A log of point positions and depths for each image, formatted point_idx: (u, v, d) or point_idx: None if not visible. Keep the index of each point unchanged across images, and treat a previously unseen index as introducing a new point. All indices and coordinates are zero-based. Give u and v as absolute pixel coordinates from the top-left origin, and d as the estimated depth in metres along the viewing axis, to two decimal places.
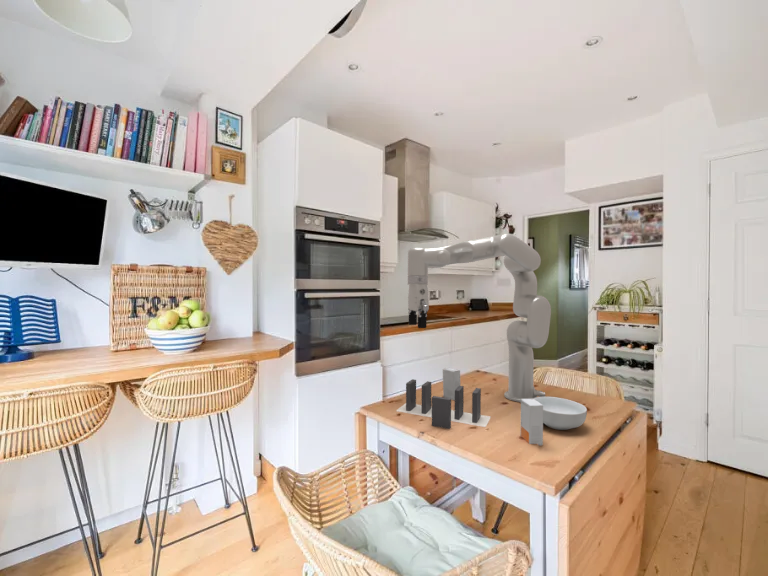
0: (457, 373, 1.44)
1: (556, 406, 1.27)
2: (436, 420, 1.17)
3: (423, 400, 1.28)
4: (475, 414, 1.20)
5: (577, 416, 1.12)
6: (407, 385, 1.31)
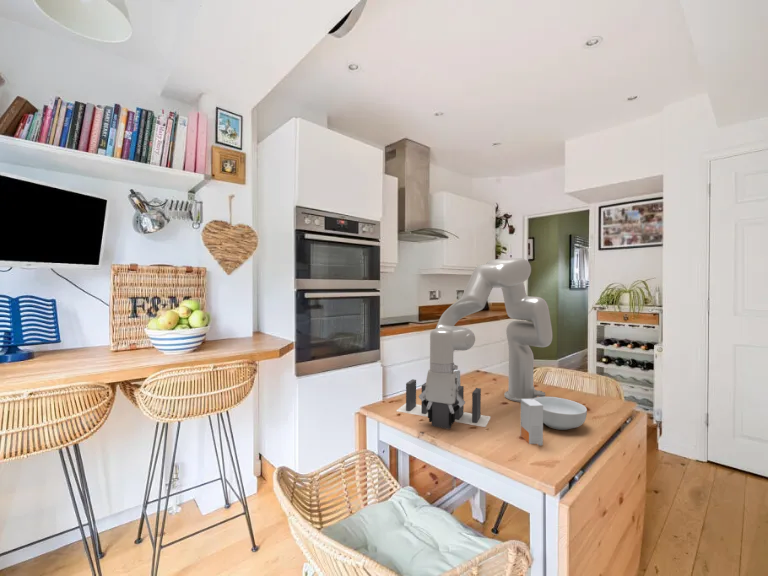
0: (457, 373, 1.44)
1: (556, 406, 1.27)
2: (436, 420, 1.17)
3: None
4: (475, 414, 1.20)
5: (577, 416, 1.12)
6: (407, 385, 1.31)
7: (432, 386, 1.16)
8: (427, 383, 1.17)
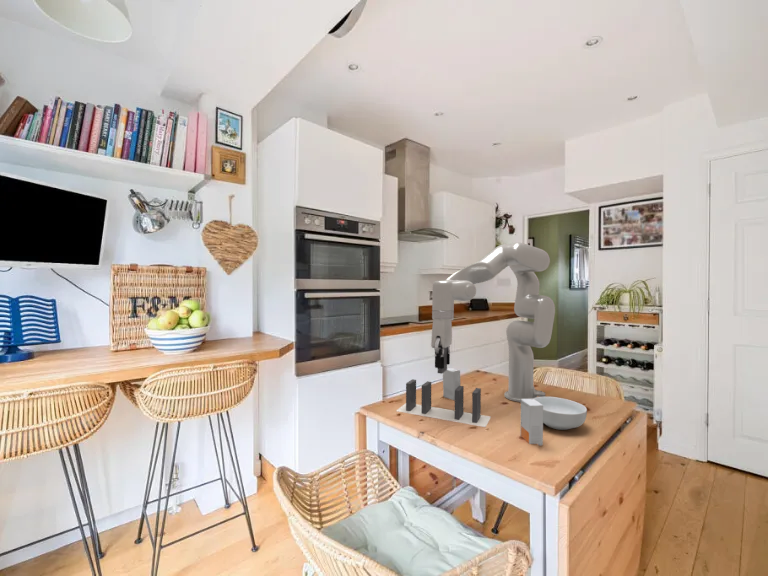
0: (457, 373, 1.44)
1: (556, 406, 1.27)
2: None
3: (423, 400, 1.28)
4: (475, 414, 1.20)
5: (577, 416, 1.12)
6: (407, 385, 1.31)
7: (447, 333, 1.25)
8: (445, 332, 1.23)
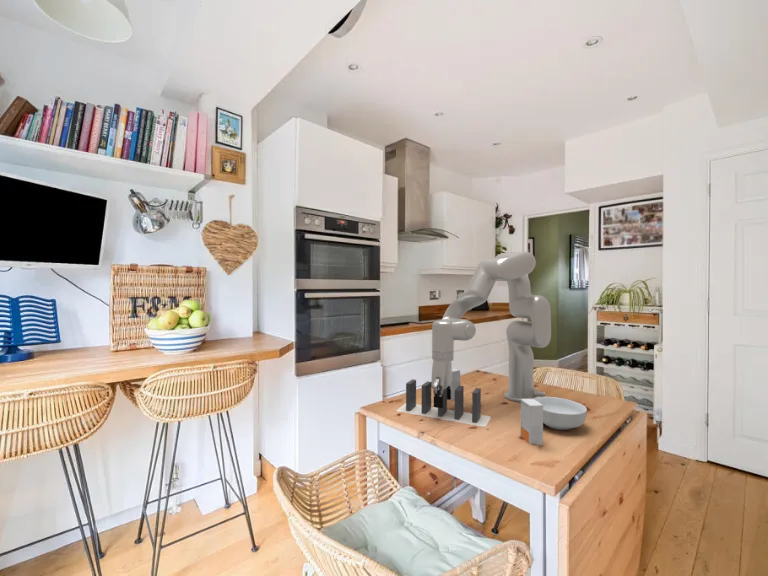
0: (457, 373, 1.44)
1: (556, 406, 1.27)
2: (443, 407, 1.27)
3: (423, 400, 1.28)
4: (475, 414, 1.20)
5: (577, 416, 1.12)
6: (407, 385, 1.31)
7: (447, 374, 1.25)
8: (445, 373, 1.23)
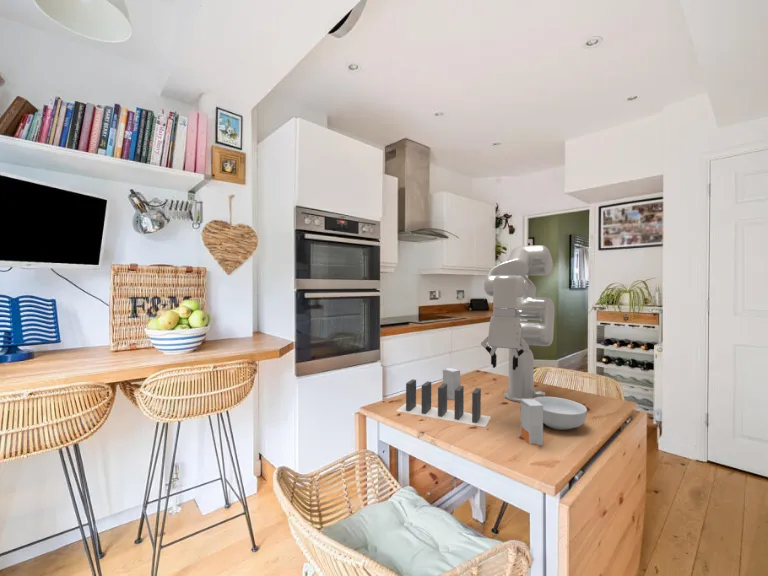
0: (457, 373, 1.44)
1: (556, 406, 1.27)
2: (443, 407, 1.27)
3: (423, 400, 1.28)
4: (475, 414, 1.20)
5: (577, 416, 1.12)
6: (407, 385, 1.31)
7: (496, 331, 1.17)
8: (490, 329, 1.18)
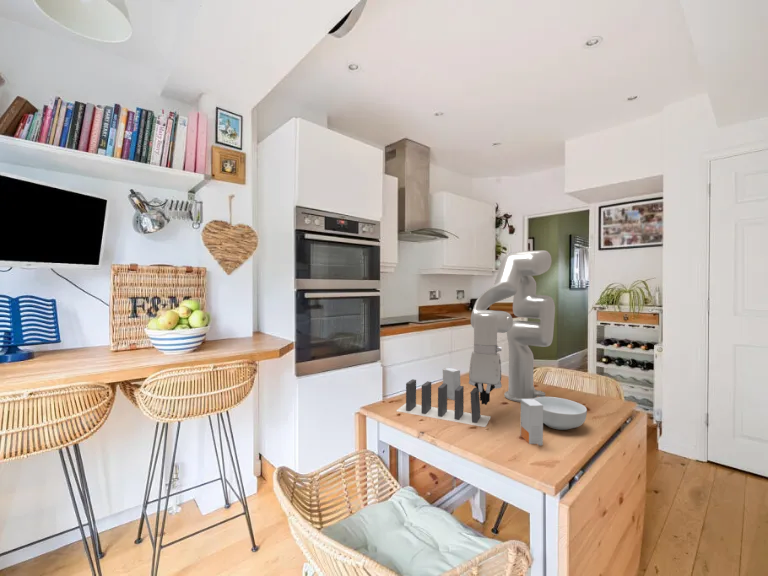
0: (457, 373, 1.44)
1: (556, 406, 1.27)
2: (443, 407, 1.27)
3: (423, 400, 1.28)
4: (474, 414, 1.20)
5: (577, 416, 1.12)
6: (407, 385, 1.31)
7: (476, 367, 1.20)
8: (471, 364, 1.21)
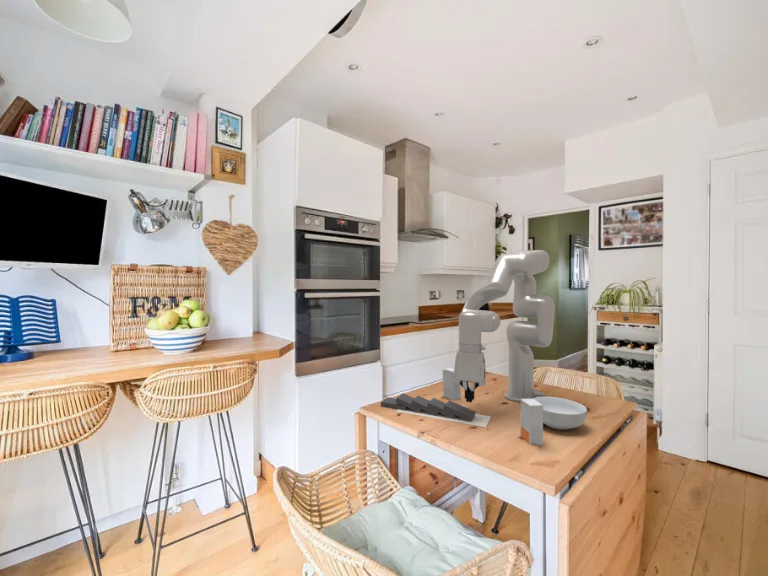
0: None
1: (556, 406, 1.27)
2: None
3: (408, 405, 1.31)
4: (463, 415, 1.22)
5: (577, 416, 1.12)
6: (382, 405, 1.35)
7: (461, 366, 1.22)
8: (456, 363, 1.23)
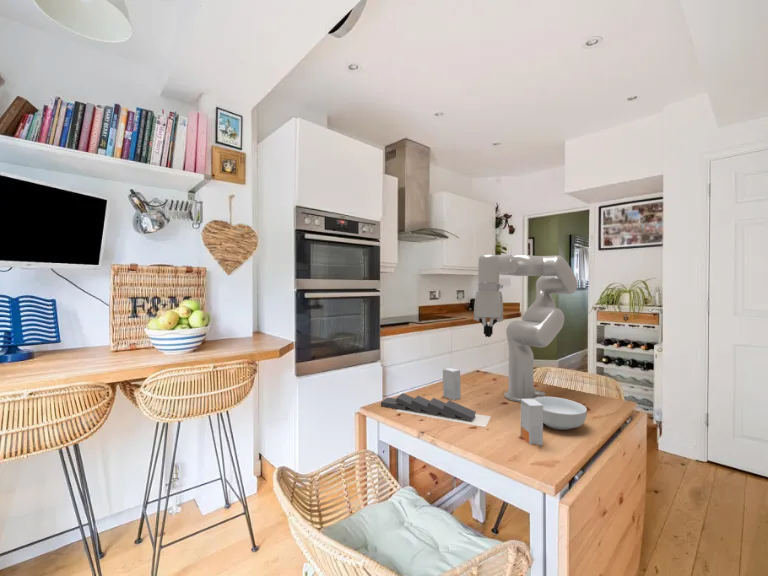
0: (457, 373, 1.44)
1: (556, 406, 1.27)
2: None
3: (408, 405, 1.31)
4: (463, 415, 1.22)
5: (577, 416, 1.12)
6: (382, 405, 1.35)
7: (481, 303, 1.34)
8: (476, 301, 1.35)
